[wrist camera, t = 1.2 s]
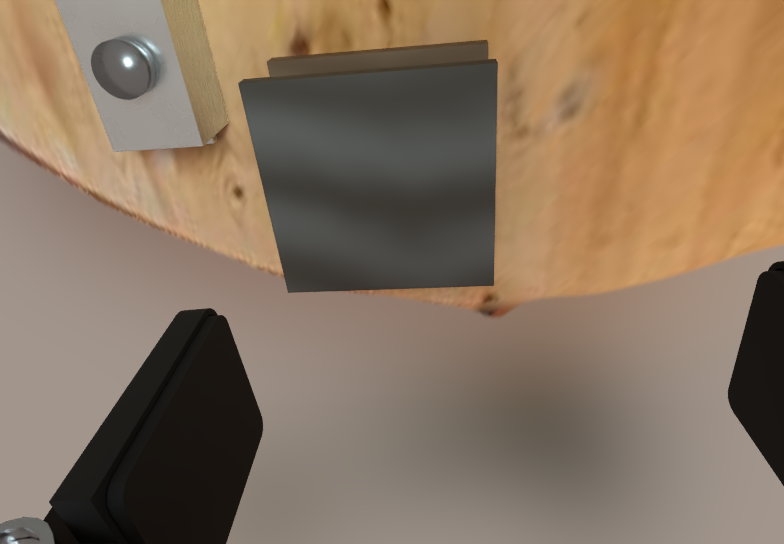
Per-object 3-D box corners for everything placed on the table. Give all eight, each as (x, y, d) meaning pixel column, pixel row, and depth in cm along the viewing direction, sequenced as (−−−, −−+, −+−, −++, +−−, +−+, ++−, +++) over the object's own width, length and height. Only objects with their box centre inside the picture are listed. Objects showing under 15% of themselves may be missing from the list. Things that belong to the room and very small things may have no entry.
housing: (87, -55, 32) (19, -52, 27) (181, -65, 31) (130, -65, 26) (155, 144, 38) (111, 176, 33) (233, 138, 38) (201, 171, 33)
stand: (271, 57, 35) (238, 83, 29) (486, 40, 33) (497, 62, 27) (308, 242, 42) (288, 292, 36) (485, 234, 41) (493, 285, 35)
